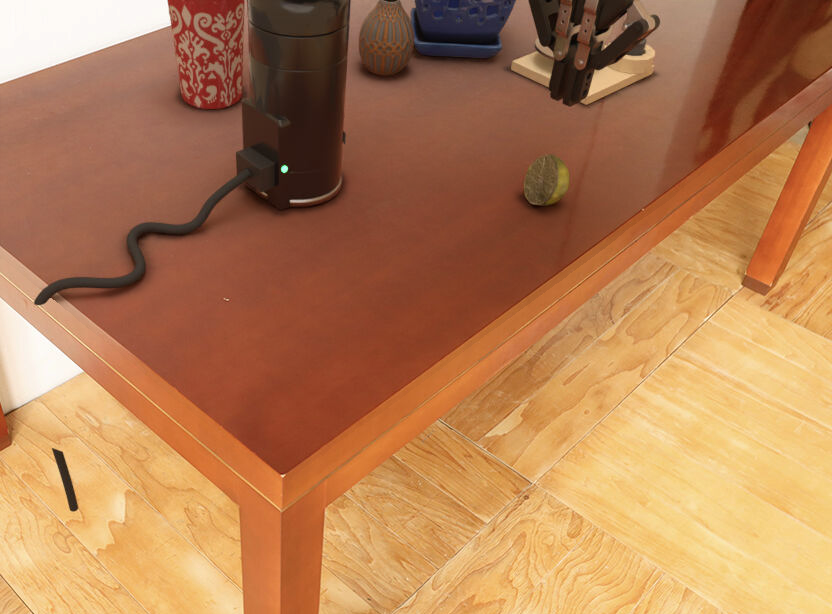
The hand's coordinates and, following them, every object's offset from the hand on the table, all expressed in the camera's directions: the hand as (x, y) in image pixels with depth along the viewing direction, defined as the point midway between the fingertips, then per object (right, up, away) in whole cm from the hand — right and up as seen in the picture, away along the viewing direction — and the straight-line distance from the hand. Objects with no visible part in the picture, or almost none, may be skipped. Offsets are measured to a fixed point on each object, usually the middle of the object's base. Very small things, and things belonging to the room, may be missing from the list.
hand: (565, 100), depth 80 cm
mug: (-36, +9, +23) cm, 43 cm away
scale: (+10, +13, +29) cm, 34 cm away
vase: (-15, +13, +28) cm, 35 cm away
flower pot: (-5, +19, +34) cm, 40 cm away
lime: (0, -8, +8) cm, 11 cm away
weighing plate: (+8, +16, +27) cm, 32 cm away
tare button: (+16, +15, +28) cm, 36 cm away
